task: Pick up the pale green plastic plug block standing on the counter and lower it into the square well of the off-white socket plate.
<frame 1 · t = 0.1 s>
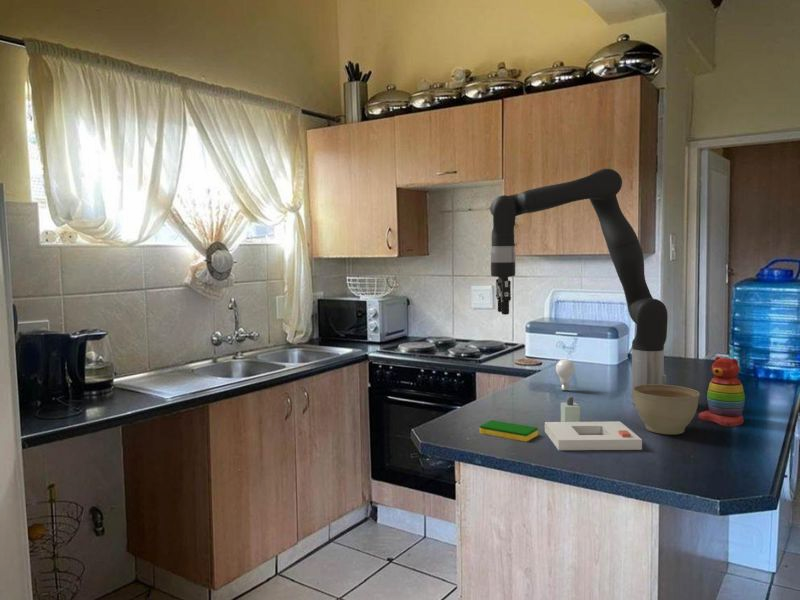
hand: (503, 313, 191), 29 cm above the worktop, tool pointing down, fingers open, 8 cm apart
lightbulb: (565, 391, 212), on the worktop
stacking bear: (724, 421, 172), on the worktop
plug: (570, 426, 169), on the worktop
dish sponge: (508, 436, 163), on the worktop
planter bowl: (665, 431, 164), on the worktop
socket plate: (590, 439, 156), on the worktop
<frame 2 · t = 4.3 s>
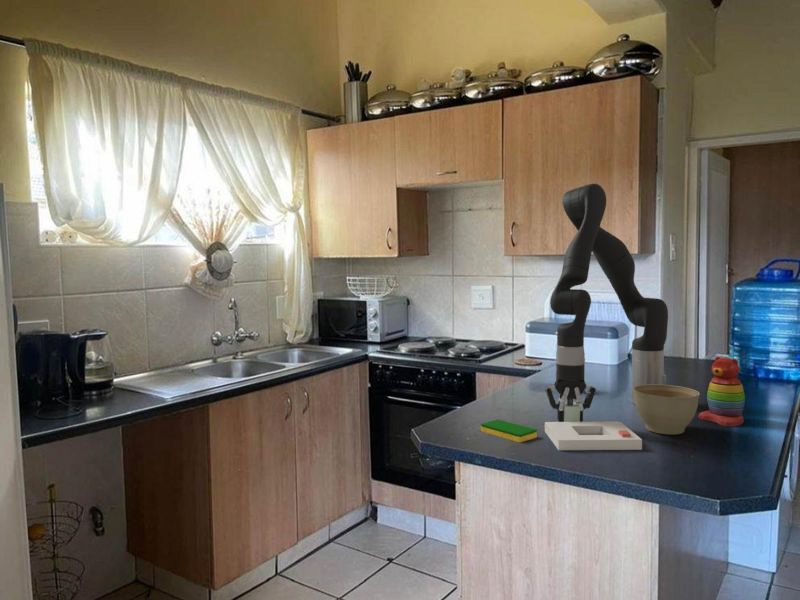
hand: (569, 422, 169), 1 cm above the worktop, tool pointing down, fingers closed on plug, 4 cm apart
plug: (570, 425, 169), on the worktop, touching gripper
when the fingers open (2 cm above the worktop, at t = 8.6 s): plug drops 1 cm, resting on socket plate.
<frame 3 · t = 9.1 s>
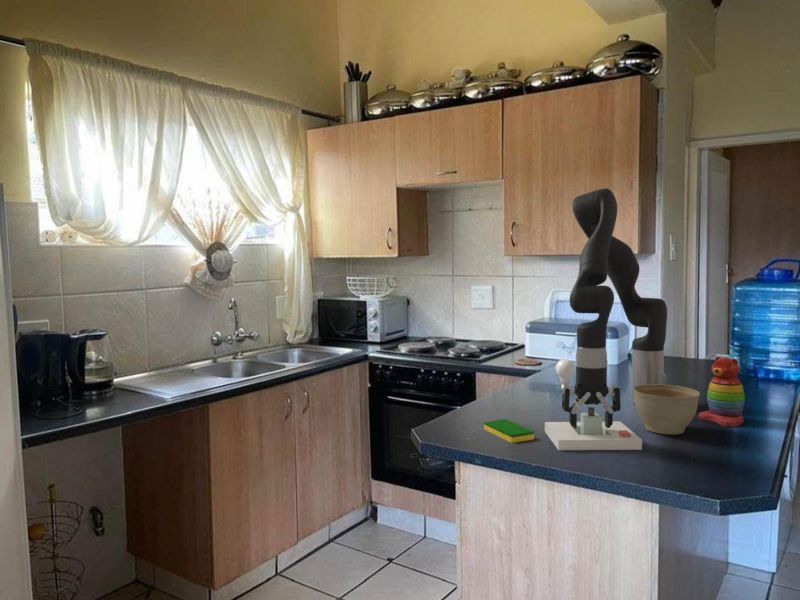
hand: (590, 427, 156), 3 cm above the worktop, tool pointing down, fingers open, 8 cm apart
plug: (591, 438, 156), resting on socket plate
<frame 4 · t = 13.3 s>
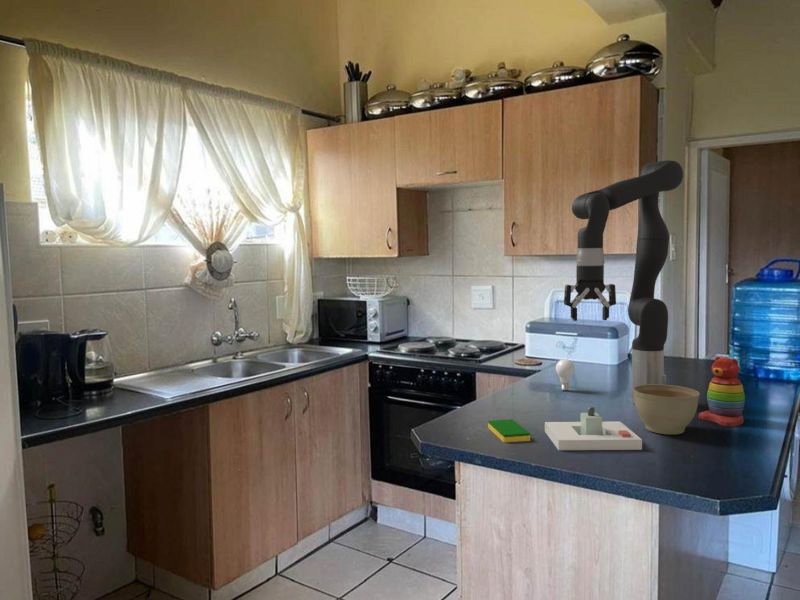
hand: (589, 320, 177), 28 cm above the worktop, tool pointing down, fingers open, 8 cm apart
at the end: plug 0.1 cm off-centre on the socket plate, point 0.4 cm above the socket plate's base; plug tilted 0°; the gripper is holding nothing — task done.
